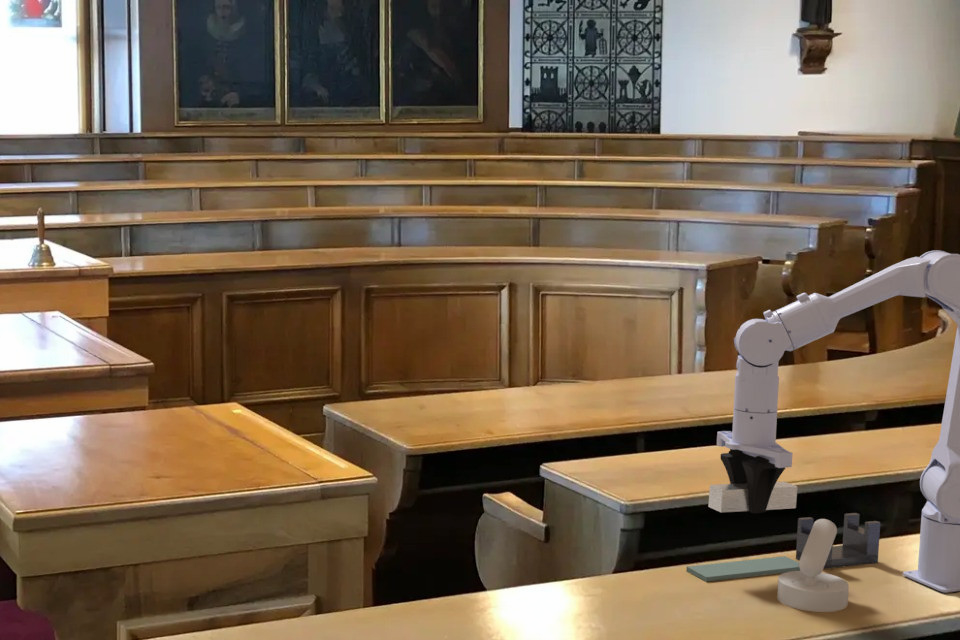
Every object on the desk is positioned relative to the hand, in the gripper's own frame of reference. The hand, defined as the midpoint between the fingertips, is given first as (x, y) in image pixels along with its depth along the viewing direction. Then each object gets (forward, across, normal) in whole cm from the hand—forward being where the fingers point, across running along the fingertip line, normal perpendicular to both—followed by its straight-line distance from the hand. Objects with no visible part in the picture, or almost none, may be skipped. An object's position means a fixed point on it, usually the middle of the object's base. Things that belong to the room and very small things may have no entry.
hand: (749, 508), depth 172 cm
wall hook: (+9, +12, +2) cm, 15 cm away
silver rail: (0, 0, 0) cm, 0 cm away
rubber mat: (+9, 0, 0) cm, 9 cm away
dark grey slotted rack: (+8, 0, +15) cm, 17 cm away
